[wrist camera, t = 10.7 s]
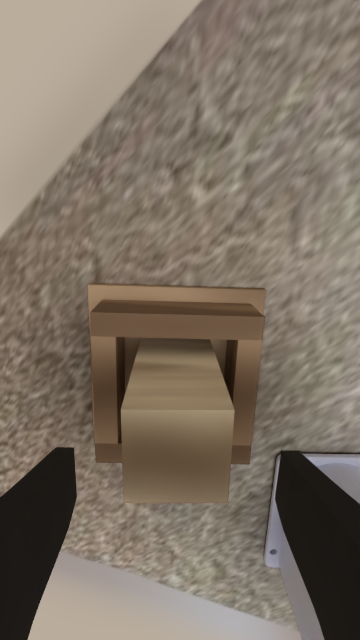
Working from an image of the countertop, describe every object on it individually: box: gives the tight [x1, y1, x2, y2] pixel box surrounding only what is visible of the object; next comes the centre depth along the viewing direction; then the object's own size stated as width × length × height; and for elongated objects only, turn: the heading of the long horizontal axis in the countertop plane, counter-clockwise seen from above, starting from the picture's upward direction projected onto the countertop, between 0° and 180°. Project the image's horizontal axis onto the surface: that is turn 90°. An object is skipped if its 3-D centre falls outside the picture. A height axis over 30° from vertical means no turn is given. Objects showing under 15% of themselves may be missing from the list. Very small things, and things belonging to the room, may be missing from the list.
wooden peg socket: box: [88, 283, 266, 464], centre depth 19 cm, size 10×10×4 cm
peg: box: [121, 338, 235, 503], centre depth 16 cm, size 4×4×8 cm
